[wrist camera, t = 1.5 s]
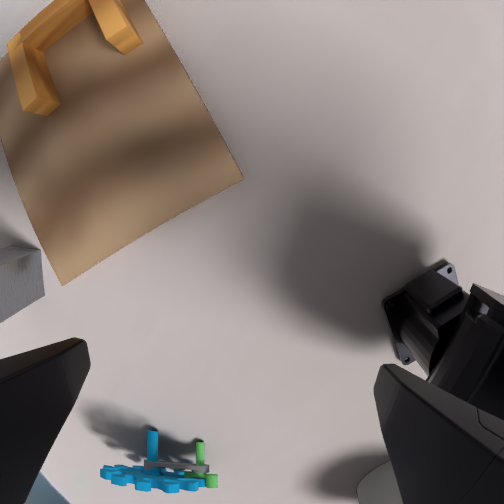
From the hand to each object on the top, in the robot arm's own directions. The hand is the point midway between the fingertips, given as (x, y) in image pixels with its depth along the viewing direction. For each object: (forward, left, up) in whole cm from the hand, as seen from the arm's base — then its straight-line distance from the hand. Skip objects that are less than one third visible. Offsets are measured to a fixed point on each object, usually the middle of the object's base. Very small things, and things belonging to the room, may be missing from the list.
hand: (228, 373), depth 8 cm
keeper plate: (+16, +6, -13) cm, 21 cm away
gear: (-14, +17, -13) cm, 25 cm away
